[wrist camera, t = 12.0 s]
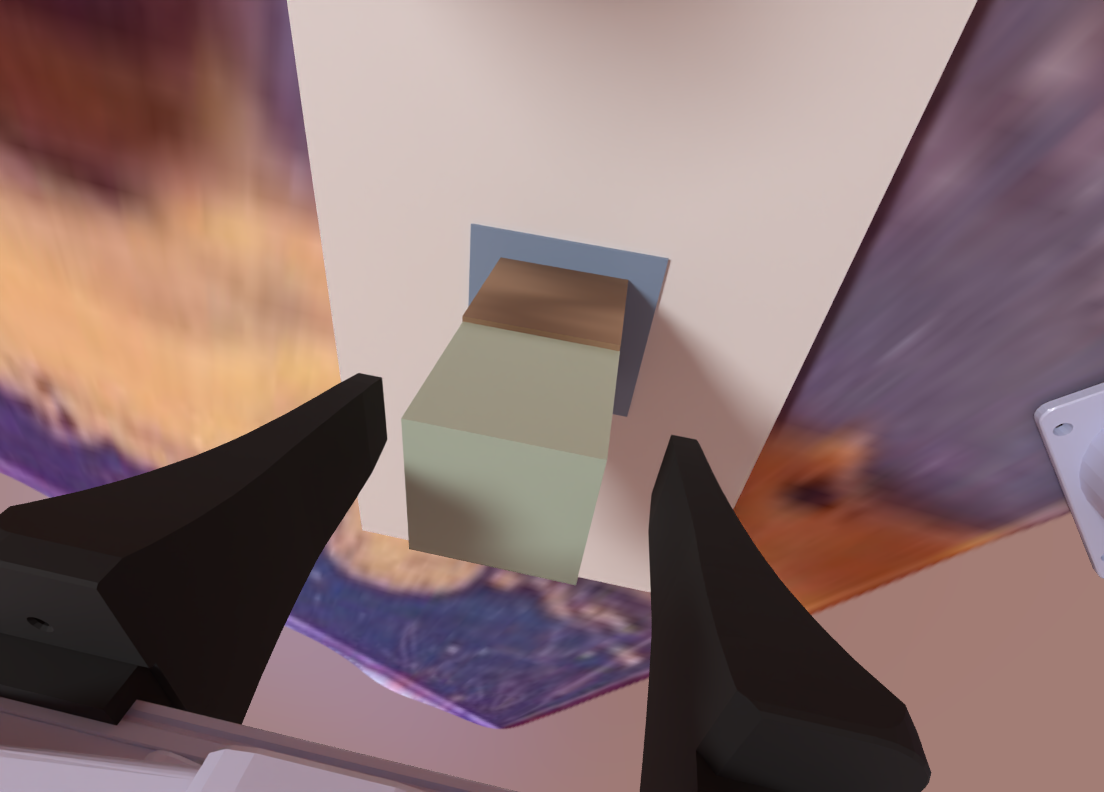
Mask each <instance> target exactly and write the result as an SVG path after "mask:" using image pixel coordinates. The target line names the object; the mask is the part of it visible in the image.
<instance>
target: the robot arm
mask: <svg viewBox="0 0 1104 792" xmlns="http://www.w3.org/2000/svg"><path fill="white" fill-rule="evenodd" d="M1034 419H1035V422H1036V424H1037V427H1038V429H1039V432H1040V435H1041V437H1042V440H1043V442H1044V445H1045V447H1046V450H1047V452H1048V455H1049V457H1050V460H1051V463H1052V465H1053V468H1054V470H1055V473H1056V475H1057V478H1058V480H1059V483H1060V485H1061V488H1062V491H1063V493H1064V496H1065V498H1066V501H1067V503H1068V506H1069V508H1070V511H1071V513H1072V516H1073V519H1074V521H1075V524H1076V526H1077V529H1078V531H1079V534H1080V536H1081V539H1082V541H1083V544H1084V546H1085V549H1086V552H1087V554H1088V557H1089V559H1090V562H1091V564H1092V567H1093V569H1094V570H1095V571H1096V573H1097V574H1098V575H1099V576H1100V577H1101V578H1103V579H1104V383H1101V384H1098V385H1095V386H1092V387H1089V388H1086V389H1084V390H1081V391H1078V392H1075V393H1072V394H1069V395H1066V396H1064V397H1061V398H1058V399H1055V400H1052V401H1049V402H1047V403H1045V404H1043V405H1041V406H1040V407H1039V408H1038V409H1037V410H1036V412H1035V414H1034ZM1060 424H1063V425H1062V426H1060V427H1058V428H1055V427H1056V426H1058V425H1060ZM386 442H387V428H386V416H385V405H384V393H383V381H382V377H377V376H372V375H367V374H362V373H357V374H356V375H354V376H352V377H350V378H348V379H346V380H344V381H343V382H341V383H339V384H337V385H336V386H334V387H332V388H331V389H329V390H327V391H325V392H324V393H322V394H320V395H319V396H317V397H315V398H313V399H312V400H310V401H308V402H306V403H304V404H303V405H301V406H299V407H297V408H296V409H294V410H292V411H290V412H288V413H287V414H285V415H283V416H281V417H279V418H277V419H275V420H273V421H271V422H269V423H267V424H265V425H263V426H261V427H259V428H257V429H255V430H253V431H251V432H249V433H247V434H245V435H243V436H241V437H239V438H237V439H234V440H232V441H230V442H228V443H225V444H223V445H221V446H218V447H216V448H213V449H211V450H209V451H206V452H204V453H201V454H199V455H196V456H193V457H191V458H188V459H185V460H182V461H179V462H176V463H173V464H170V465H168V466H165V467H162V468H159V469H156V470H153V471H150V472H147V473H144V474H141V475H138V476H134V477H131V478H127V479H124V480H121V481H117V482H113V483H110V484H106V485H102V486H99V487H95V488H91V489H87V490H83V491H79V492H75V493H71V494H66V495H62V496H57V497H52V498H48V499H43V500H39V501H34V502H30V503H25V504H20V505H15V506H10V507H9V508H7V509H6V510H5V511H4V512H2V513H1V514H0V792H517V791H513V790H508V789H504V788H500V787H496V786H492V785H488V784H484V783H480V782H476V781H471V780H467V779H463V778H459V777H455V776H451V775H447V774H443V773H438V772H434V771H430V770H426V769H422V768H418V767H414V766H409V765H405V764H401V763H397V762H393V761H389V760H384V759H380V758H376V757H372V756H368V755H364V754H360V753H356V752H352V751H348V750H343V749H339V748H335V747H331V746H327V745H323V744H319V743H314V742H310V741H306V740H302V739H298V738H294V737H290V736H286V735H282V734H277V733H273V732H269V731H265V730H261V729H257V728H253V727H248V726H244V725H242V722H243V720H244V717H245V715H246V713H247V710H248V708H249V705H250V703H251V700H252V698H253V696H254V693H255V691H256V688H257V686H258V683H259V681H260V679H261V676H262V674H263V672H264V669H265V667H266V665H267V663H268V660H269V658H270V656H271V654H272V651H273V649H274V647H275V645H276V642H277V640H278V638H279V636H280V633H281V631H282V629H283V627H284V625H285V623H286V621H287V619H288V617H289V615H290V613H291V610H292V608H293V606H294V604H295V602H296V600H297V598H298V596H299V594H300V592H301V590H302V588H303V586H304V584H305V582H306V580H307V578H308V576H309V574H310V572H311V570H312V568H313V566H314V564H315V562H316V561H317V559H318V557H319V555H320V554H321V552H322V550H323V549H324V547H325V545H326V544H327V542H328V541H329V539H330V538H331V536H332V534H333V533H334V531H335V530H336V528H337V527H338V525H339V524H340V522H341V521H342V519H343V518H344V516H345V514H346V513H347V511H348V510H349V508H350V507H351V505H352V504H353V502H354V501H355V499H356V498H357V496H358V494H359V493H360V491H361V490H362V488H363V487H364V485H365V484H366V482H367V480H368V479H369V477H370V476H371V474H372V472H373V470H374V468H375V466H376V464H377V462H378V460H379V458H380V455H381V453H382V451H383V449H384V446H385V444H386ZM648 536H649V563H650V587H651V610H652V638H651V655H650V672H649V687H648V701H647V717H646V728H645V740H644V751H643V763H642V774H641V784H640V792H921V791H922V790H923V789H924V788H925V787H926V786H927V784H928V783H929V780H930V776H931V771H930V768H929V765H928V762H927V759H926V757H925V754H924V751H923V748H922V744H921V742H920V739H919V736H918V733H917V731H916V729H915V726H914V724H913V722H912V719H911V717H910V715H909V712H908V710H907V708H906V705H905V704H904V703H903V702H901V701H900V700H899V699H898V698H897V697H896V696H895V695H894V694H892V693H891V692H890V691H889V690H888V689H887V688H886V687H885V686H883V685H882V684H881V683H880V682H879V681H878V680H877V679H876V678H874V677H873V676H872V675H871V674H870V673H869V672H868V671H867V670H865V669H864V668H863V667H862V666H861V665H860V664H859V663H858V662H857V661H855V660H854V659H853V658H852V657H851V656H850V655H849V654H848V653H847V652H846V651H845V650H844V649H843V648H842V647H841V646H840V645H839V644H838V643H837V642H836V641H835V640H834V639H833V638H832V637H831V636H830V635H829V634H828V633H827V632H826V631H825V630H824V629H823V628H822V627H821V626H820V624H819V623H818V622H817V621H816V620H815V619H814V618H813V617H812V616H811V615H810V614H809V612H808V611H807V610H806V609H805V608H804V607H803V606H802V605H801V603H800V602H799V601H798V600H797V599H796V598H795V597H794V595H793V594H792V593H791V592H790V591H789V590H788V588H787V587H786V586H785V585H784V584H783V582H782V581H781V580H780V579H779V577H778V576H777V575H776V573H775V572H774V571H773V569H772V568H771V567H770V565H769V564H768V563H767V561H766V560H765V559H764V557H763V556H762V554H761V553H760V552H759V550H758V549H757V547H756V546H755V544H754V543H753V541H752V540H751V538H750V537H749V535H748V533H747V532H746V530H745V529H744V527H743V526H742V524H741V522H740V521H739V519H738V517H737V516H736V514H735V512H734V510H733V509H732V507H731V505H730V503H729V502H728V500H727V498H726V496H725V494H724V493H723V491H722V489H721V487H720V485H719V483H718V481H717V479H716V477H715V475H714V473H713V471H712V469H711V467H710V465H709V463H708V461H707V459H706V457H705V455H704V452H703V450H702V448H701V446H700V444H699V442H698V441H697V440H696V439H691V438H686V437H681V436H676V435H671V437H670V440H669V443H668V446H667V449H666V452H665V455H664V458H663V461H662V464H661V467H660V470H659V473H658V476H657V479H656V482H655V485H654V488H653V491H652V494H651V504H650V516H649V529H648Z"/></svg>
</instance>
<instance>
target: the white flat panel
mask: <svg viewBox="0 0 1104 792" xmlns="http://www.w3.org/2000/svg"><path fill="white" fill-rule="evenodd" d="M976 2H977V0H287V4H288V11H289V18H290V25H291V32H292V39H293V46H294V53H295V60H296V67H297V74H298V82H299V89H300V96H301V103H302V110H303V117H304V124H305V131H306V138H307V145H308V152H309V159H310V166H311V173H312V180H313V187H314V194H315V201H316V208H317V215H318V222H319V229H320V236H321V243H322V250H323V257H324V264H325V271H326V278H327V285H328V292H329V299H330V306H331V313H332V320H333V327H334V334H335V341H336V348H337V355H338V362H339V369H340V377H341V382H343V381H344V380H346V379H348V378H350V377H352V376H354V375H356V374H357V373H362V374H367V375H372V376H377V377H382V381H383V393H384V405H385V416H386V428H387V442H386V444H385V446H384V449H383V451H382V453H381V455H380V458H379V460H378V462H377V464H376V466H375V468H374V470H373V472H372V474H371V476H370V477H369V479H368V480H367V482H366V484H365V485H364V487H363V488H362V490H361V491H360V493H359V494H358V503H359V510H360V517H361V524H362V530H364V531H369V532H373V533H378V534H382V535H387V536H392V537H396V538H401V539H406V540H409V537H408V521H407V505H406V489H405V473H404V457H403V440H402V424H401V418H402V416H403V415H404V413H405V412H406V410H407V408H408V407H409V405H410V404H411V402H412V401H413V399H414V397H415V396H416V394H417V393H418V391H419V390H420V388H421V386H422V385H423V383H424V382H425V380H426V379H427V377H428V375H429V374H430V372H431V371H432V369H433V368H434V366H435V365H436V363H437V361H438V360H439V358H440V357H441V355H442V354H443V352H444V350H445V349H446V347H447V346H448V344H449V343H450V341H451V339H452V338H453V336H454V335H455V333H456V332H457V330H458V328H459V327H460V325H461V324H462V316H463V315H464V313H465V311H466V310H467V308H468V307H469V305H470V304H471V302H472V301H473V299H474V298H475V296H476V295H477V293H478V291H479V290H480V288H481V287H482V285H483V284H484V282H485V281H486V279H487V278H488V276H489V275H490V273H491V271H492V270H493V268H494V267H495V265H496V264H497V262H498V261H499V259H500V258H501V257H502V258H508V259H513V260H519V261H525V262H530V263H536V264H542V265H547V266H553V267H559V268H564V269H570V270H576V271H581V272H587V273H593V274H598V275H604V276H610V277H616V278H621V279H627V280H628V288H627V296H626V305H625V313H624V322H623V330H622V339H621V346H620V355H619V364H618V372H617V380H616V389H615V397H614V406H613V414H612V423H611V431H610V440H609V448H608V456H607V462H606V466H605V470H604V474H603V478H602V482H601V486H600V490H599V494H598V498H597V502H596V506H595V510H594V514H593V518H592V522H591V526H590V530H589V534H588V538H587V542H586V546H585V550H584V554H583V558H582V562H581V566H580V570H579V574H578V577H582V578H586V579H591V580H596V581H600V582H605V583H609V584H614V585H619V586H623V587H628V588H633V589H637V590H642V591H646V592H651V587H650V563H649V536H648V529H649V516H650V504H651V494H652V491H653V488H654V485H655V482H656V479H657V476H658V473H659V470H660V467H661V464H662V461H663V458H664V455H665V452H666V449H667V446H668V443H669V440H670V437H671V435H676V436H681V437H686V438H691V439H696V440H697V441H698V442H699V444H700V446H701V448H702V450H703V452H704V455H705V457H706V459H707V461H708V463H709V465H710V467H711V469H712V471H713V473H714V475H715V477H716V479H717V481H718V483H719V485H720V487H721V489H722V491H723V493H724V494H725V496H726V498H727V500H728V502H729V503H730V505H731V507H732V509H734V507H735V505H736V503H737V501H738V499H739V496H740V494H741V492H742V490H743V488H744V486H745V484H746V482H747V480H748V478H749V476H750V474H751V471H752V469H753V467H754V465H755V463H756V461H757V459H758V457H759V455H760V453H761V451H762V448H763V446H764V444H765V442H766V440H767V438H768V436H769V434H770V432H771V430H772V428H773V426H774V423H775V421H776V419H777V417H778V415H779V413H780V411H781V409H782V407H783V405H784V403H785V400H786V398H787V396H788V394H789V392H790V390H791V388H792V386H793V384H794V382H795V380H796V378H797V375H798V373H799V371H800V369H801V367H802V365H803V363H804V361H805V359H806V357H807V355H808V353H809V350H810V348H811V346H812V344H813V342H814V340H815V338H816V336H817V334H818V332H819V330H820V327H821V325H822V323H823V321H824V319H825V317H826V315H827V313H828V311H829V309H830V307H831V305H832V302H833V300H834V298H835V296H836V294H837V292H838V290H839V288H840V286H841V284H842V282H843V279H844V277H845V275H846V273H847V271H848V269H849V267H850V265H851V263H852V261H853V259H854V257H855V254H856V252H857V250H858V248H859V246H860V244H861V242H862V240H863V238H864V236H865V234H866V231H867V229H868V227H869V225H870V223H871V221H872V219H873V217H874V215H875V213H876V211H877V209H878V206H879V204H880V202H881V200H882V198H883V196H884V194H885V192H886V190H887V188H888V186H889V184H890V181H891V179H892V177H893V175H894V173H895V171H896V169H897V167H898V165H899V163H900V161H901V158H902V156H903V154H904V152H905V150H906V148H907V146H908V144H909V142H910V140H911V138H912V136H913V133H914V131H915V129H916V127H917V125H918V123H919V121H920V119H921V117H922V115H923V113H924V110H925V108H926V106H927V104H928V102H929V100H930V98H931V96H932V94H933V92H934V90H935V88H936V85H937V83H938V81H939V79H940V77H941V75H942V73H943V71H944V69H945V67H946V65H947V63H948V60H949V58H950V56H951V54H952V52H953V50H954V48H955V46H956V44H957V42H958V40H959V37H960V35H961V33H962V31H963V29H964V27H965V25H966V23H967V21H968V19H969V17H970V15H971V12H972V10H973V8H974V6H975V4H976Z"/></svg>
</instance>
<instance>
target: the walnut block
mask: <svg viewBox="0 0 1104 792" xmlns="http://www.w3.org/2000/svg"><path fill="white" fill-rule="evenodd" d="M627 288H628V280H627V279H621V278H616V277H610V276H604V275H598V274H593V273H587V272H581V271H576V270H570V269H564V268H559V267H553V266H547V265H542V264H536V263H530V262H525V261H519V260H513V259H508V258H502V257H501V258H500V259H499V261H498V262H497V264H496V265H495V267H494V268H493V270H492V271H491V273H490V275H489V276H488V278H487V279H486V281H485V282H484V284H483V285H482V287H481V288H480V290H479V291H478V293H477V295H476V296H475V298H474V299H473V301H472V302H471V304H470V305H469V307H468V308H467V310H466V311H465V313H464V315H463V316H462V322H468V323H473V324H479V325H484V326H489V327H494V328H500V329H505V330H510V331H515V332H521V333H526V334H531V335H536V336H542V337H547V338H552V339H557V340H563V341H568V342H573V343H578V344H584V345H589V346H594V347H599V348H605V349H610V350H615V351H620V346H621V339H622V330H623V322H624V313H625V305H626V296H627Z"/></svg>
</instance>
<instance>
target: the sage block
mask: <svg viewBox="0 0 1104 792" xmlns="http://www.w3.org/2000/svg"><path fill="white" fill-rule="evenodd" d="M619 355H620V351H615V350H610V349H605V348H599V347H594V346H589V345H584V344H578V343H573V342H568V341H563V340H557V339H552V338H547V337H542V336H536V335H531V334H526V333H521V332H515V331H510V330H505V329H500V328H494V327H489V326H484V325H479V324H473V323H468V322H462V324H461V325H460V327H459V328H458V330H457V332H456V333H455V335H454V336H453V338H452V339H451V341H450V343H449V344H448V346H447V347H446V349H445V350H444V352H443V354H442V355H441V357H440V358H439V360H438V361H437V363H436V365H435V366H434V368H433V369H432V371H431V372H430V374H429V375H428V377H427V379H426V380H425V382H424V383H423V385H422V386H421V388H420V390H419V391H418V393H417V394H416V396H415V397H414V399H413V401H412V402H411V404H410V405H409V407H408V408H407V410H406V412H405V413H404V415H403V416H402V418H401V424H402V440H403V457H404V473H405V489H406V505H407V521H408V537H409V549H412V550H416V551H421V552H426V553H430V554H435V555H439V556H444V557H449V558H453V559H458V560H462V561H467V562H471V563H476V564H481V565H485V566H490V567H494V568H499V569H504V570H508V571H513V572H517V573H522V574H527V575H531V576H536V577H540V578H545V579H550V580H554V581H559V582H563V583H568V584H573V585H576V582H577V578H578V574H579V570H580V566H581V562H582V558H583V554H584V550H585V546H586V542H587V538H588V534H589V530H590V526H591V522H592V518H593V514H594V510H595V506H596V502H597V498H598V494H599V490H600V486H601V482H602V478H603V474H604V470H605V466H606V462H607V456H608V448H609V440H610V431H611V423H612V414H613V406H614V397H615V389H616V380H617V372H618V364H619Z"/></svg>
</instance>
